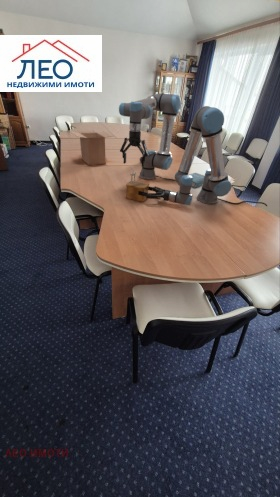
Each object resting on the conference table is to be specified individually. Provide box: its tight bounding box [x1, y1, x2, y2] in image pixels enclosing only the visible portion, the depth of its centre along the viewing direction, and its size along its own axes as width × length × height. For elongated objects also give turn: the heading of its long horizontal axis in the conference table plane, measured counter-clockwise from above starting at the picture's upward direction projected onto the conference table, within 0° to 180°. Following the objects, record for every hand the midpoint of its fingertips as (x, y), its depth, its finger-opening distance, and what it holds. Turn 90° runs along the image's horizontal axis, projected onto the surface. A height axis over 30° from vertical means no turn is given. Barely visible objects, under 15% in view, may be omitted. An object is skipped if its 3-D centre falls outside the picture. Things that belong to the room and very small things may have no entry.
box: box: [70, 129, 114, 166], centre depth 229 cm, size 44×36×27 cm
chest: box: [126, 184, 150, 203], centre depth 164 cm, size 14×10×9 cm
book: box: [188, 172, 205, 189], centre depth 200 cm, size 23×16×5 cm
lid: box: [125, 171, 150, 189], centre depth 159 cm, size 14×10×9 cm
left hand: (133, 164), depth 154 cm, fingers open, 13 cm apart
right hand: (141, 190), depth 162 cm, fingers open, 11 cm apart
